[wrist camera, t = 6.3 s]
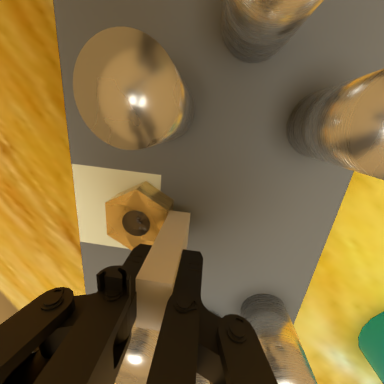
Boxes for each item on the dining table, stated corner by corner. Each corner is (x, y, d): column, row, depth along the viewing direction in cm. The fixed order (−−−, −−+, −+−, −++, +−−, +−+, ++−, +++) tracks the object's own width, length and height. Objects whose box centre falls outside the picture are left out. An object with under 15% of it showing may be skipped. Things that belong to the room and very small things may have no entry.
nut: (117, 177, 14) (103, 185, 12) (174, 184, 14) (168, 193, 12) (120, 235, 16) (107, 249, 14) (170, 242, 16) (165, 258, 14)
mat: (57, -30, 11) (49, -39, 11) (415, -8, 10) (427, -17, 9) (92, 313, 20) (88, 318, 20) (280, 345, 19) (282, 352, 19)
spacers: (135, -34, 10) (42, -228, 5) (406, -18, 9) (694, -233, 4) (134, 326, 20) (103, 407, 14) (271, 350, 19) (297, 447, 13)
